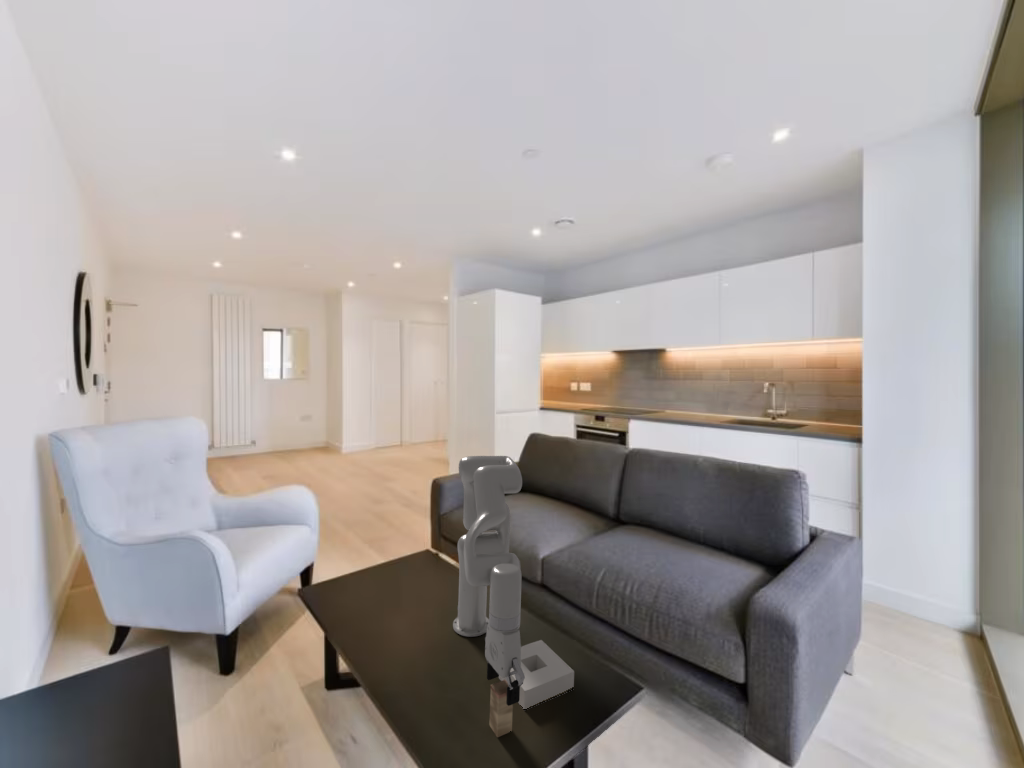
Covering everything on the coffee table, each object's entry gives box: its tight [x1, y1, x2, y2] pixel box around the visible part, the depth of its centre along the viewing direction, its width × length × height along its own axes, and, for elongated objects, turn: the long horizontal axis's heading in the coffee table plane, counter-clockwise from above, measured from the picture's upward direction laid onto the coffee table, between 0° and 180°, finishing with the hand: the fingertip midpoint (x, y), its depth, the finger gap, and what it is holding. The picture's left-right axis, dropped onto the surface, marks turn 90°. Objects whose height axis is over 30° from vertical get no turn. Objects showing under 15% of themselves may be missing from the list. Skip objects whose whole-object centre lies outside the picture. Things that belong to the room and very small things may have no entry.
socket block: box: [498, 639, 575, 710], centre depth 121 cm, size 16×16×5 cm
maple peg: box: [488, 680, 514, 738], centre depth 104 cm, size 4×4×10 cm
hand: (502, 690), depth 104 cm, fingers open, 9 cm apart
